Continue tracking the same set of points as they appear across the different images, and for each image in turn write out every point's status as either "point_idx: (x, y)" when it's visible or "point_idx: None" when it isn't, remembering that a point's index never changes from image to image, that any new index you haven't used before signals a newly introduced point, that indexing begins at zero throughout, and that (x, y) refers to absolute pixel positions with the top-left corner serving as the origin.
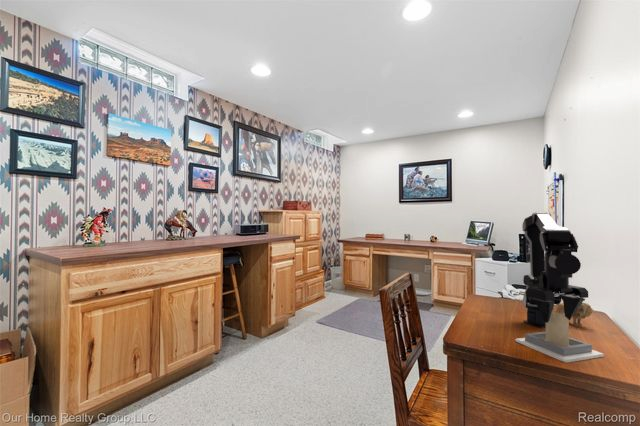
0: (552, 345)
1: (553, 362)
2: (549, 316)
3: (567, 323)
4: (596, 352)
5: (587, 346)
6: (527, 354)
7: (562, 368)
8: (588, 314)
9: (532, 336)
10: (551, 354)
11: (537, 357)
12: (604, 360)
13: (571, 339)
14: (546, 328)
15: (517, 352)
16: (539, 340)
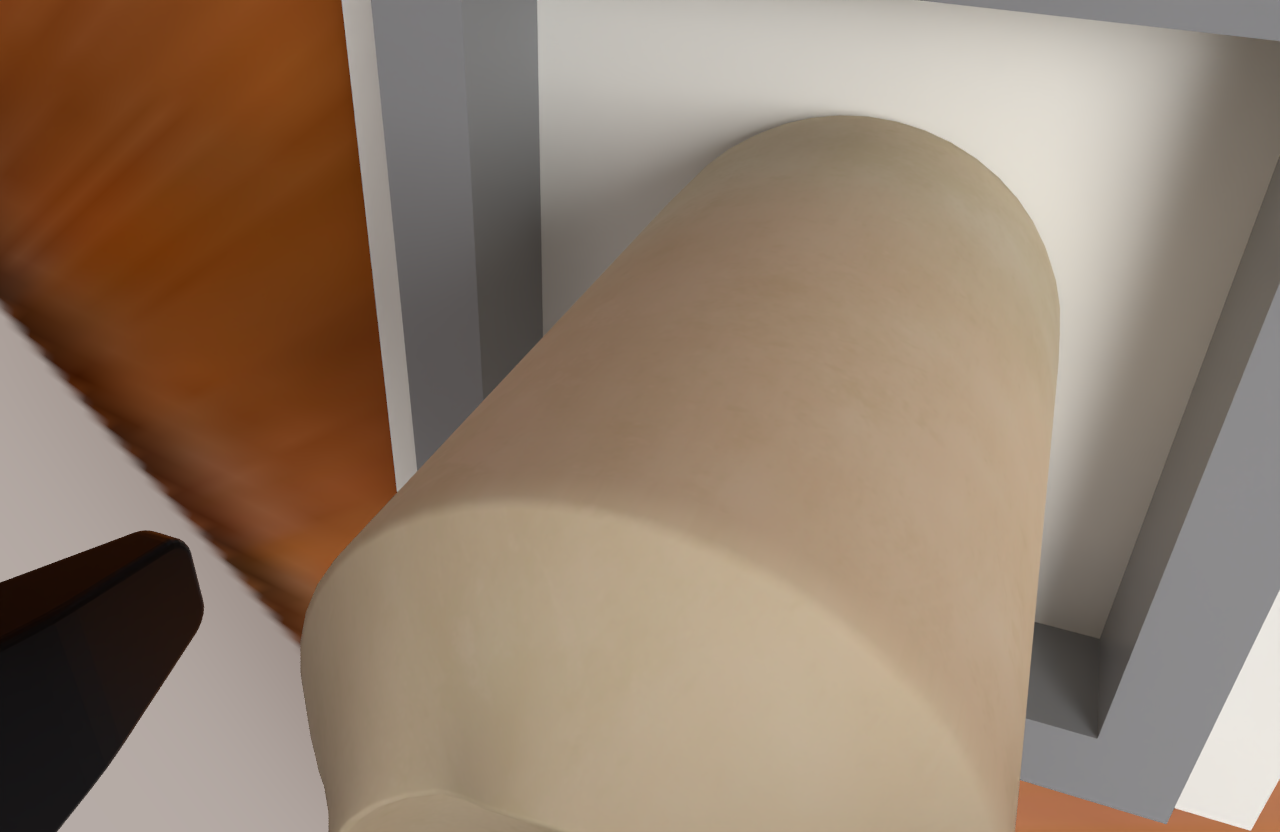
0: (419, 445)
1: (289, 469)
2: (13, 826)
3: None
4: (1199, 762)
5: (1030, 765)
6: (137, 186)
7: (262, 570)
8: None
9: (406, 21)
10: (391, 408)
11: (204, 306)
12: (1047, 802)
13: (1177, 536)
14: (534, 346)
15: (39, 73)
16: (404, 207)
